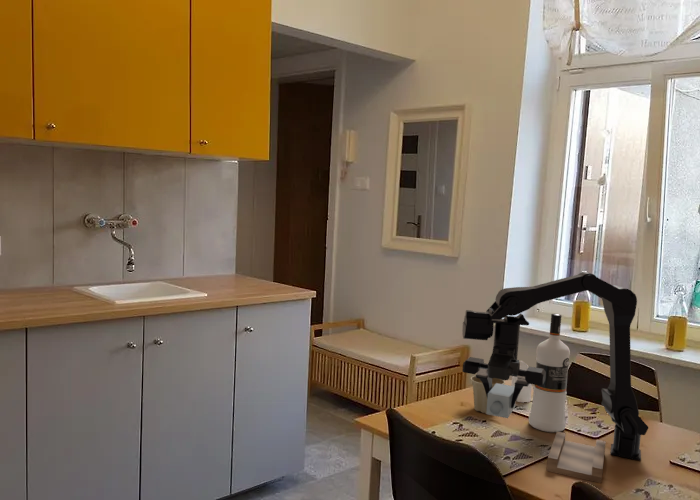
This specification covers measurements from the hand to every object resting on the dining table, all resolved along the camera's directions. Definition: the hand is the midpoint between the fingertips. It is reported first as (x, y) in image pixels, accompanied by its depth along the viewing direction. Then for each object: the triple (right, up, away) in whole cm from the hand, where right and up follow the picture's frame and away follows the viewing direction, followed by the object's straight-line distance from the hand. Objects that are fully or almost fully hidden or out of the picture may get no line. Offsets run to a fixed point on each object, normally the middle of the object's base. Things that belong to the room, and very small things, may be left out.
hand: (500, 405), depth 147 cm
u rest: (+15, -11, -8) cm, 20 cm away
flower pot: (+2, -8, +24) cm, 26 cm away
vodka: (+15, -9, +14) cm, 23 cm away
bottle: (0, -1, -1) cm, 2 cm away
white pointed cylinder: (+15, -8, +36) cm, 40 cm away
